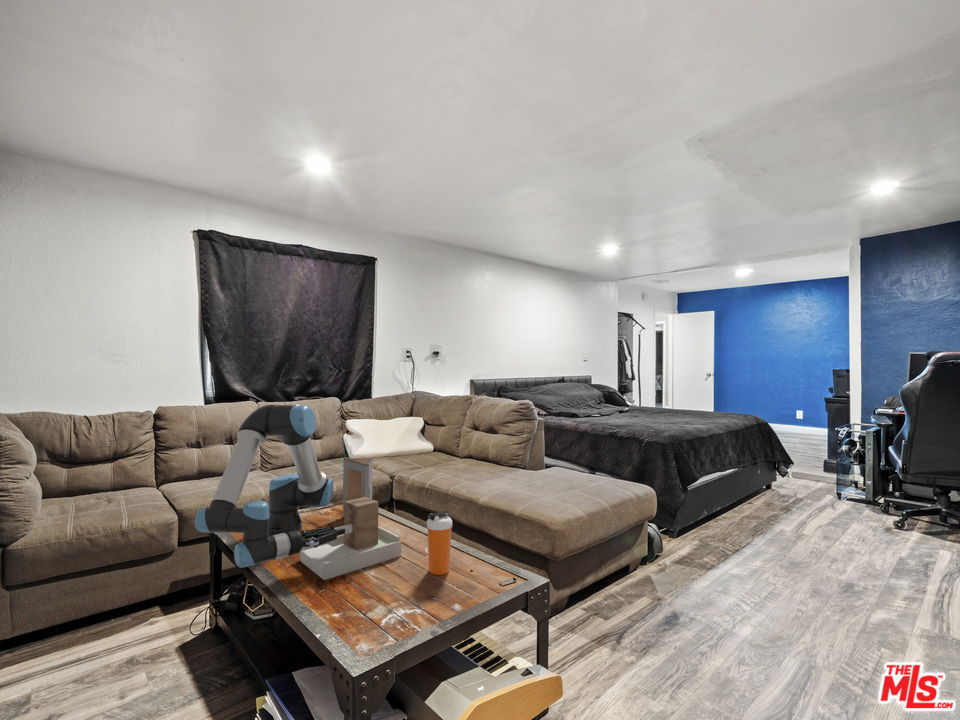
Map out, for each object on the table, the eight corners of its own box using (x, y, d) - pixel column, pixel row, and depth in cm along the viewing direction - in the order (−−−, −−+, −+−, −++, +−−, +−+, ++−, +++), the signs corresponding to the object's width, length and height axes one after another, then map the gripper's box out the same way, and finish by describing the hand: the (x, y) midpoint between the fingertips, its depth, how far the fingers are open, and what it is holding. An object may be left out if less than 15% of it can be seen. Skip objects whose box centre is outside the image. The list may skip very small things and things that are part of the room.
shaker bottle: (457, 570, 164) (457, 513, 164) (438, 578, 157) (438, 519, 157) (440, 563, 170) (440, 507, 170) (421, 570, 163) (421, 513, 163)
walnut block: (344, 544, 176) (344, 501, 177) (364, 537, 183) (365, 496, 183) (357, 550, 170) (357, 506, 170) (378, 543, 177) (378, 501, 177)
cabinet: (342, 517, 220) (343, 457, 220) (361, 512, 226) (362, 454, 227) (365, 528, 204) (365, 464, 205) (384, 523, 211) (384, 461, 211)
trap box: (299, 560, 171) (299, 541, 171) (372, 540, 191) (372, 523, 191) (324, 580, 155) (324, 559, 156) (401, 555, 176) (401, 537, 176)
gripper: (279, 549, 161) (343, 533, 177) (293, 561, 152) (360, 543, 168) (279, 527, 161) (343, 513, 177) (294, 538, 152) (360, 522, 168)
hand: (351, 528), depth 173 cm, fingers closed
